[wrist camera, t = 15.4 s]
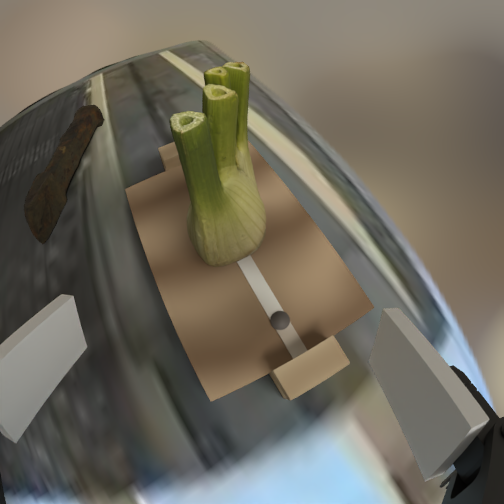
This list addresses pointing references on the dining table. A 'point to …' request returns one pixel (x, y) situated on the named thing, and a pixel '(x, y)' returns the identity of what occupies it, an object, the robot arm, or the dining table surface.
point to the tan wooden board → (249, 288)
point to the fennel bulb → (220, 169)
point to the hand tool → (59, 174)
